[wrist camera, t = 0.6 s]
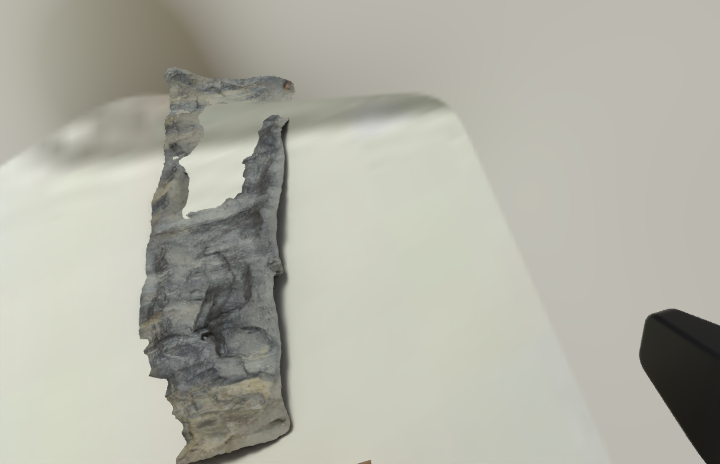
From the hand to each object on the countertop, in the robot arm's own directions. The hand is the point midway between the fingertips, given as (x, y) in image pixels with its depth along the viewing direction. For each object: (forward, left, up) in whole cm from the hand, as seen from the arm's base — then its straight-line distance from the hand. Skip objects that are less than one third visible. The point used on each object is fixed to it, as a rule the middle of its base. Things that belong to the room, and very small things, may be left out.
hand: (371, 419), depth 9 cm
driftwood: (+15, +3, -17) cm, 22 cm away
